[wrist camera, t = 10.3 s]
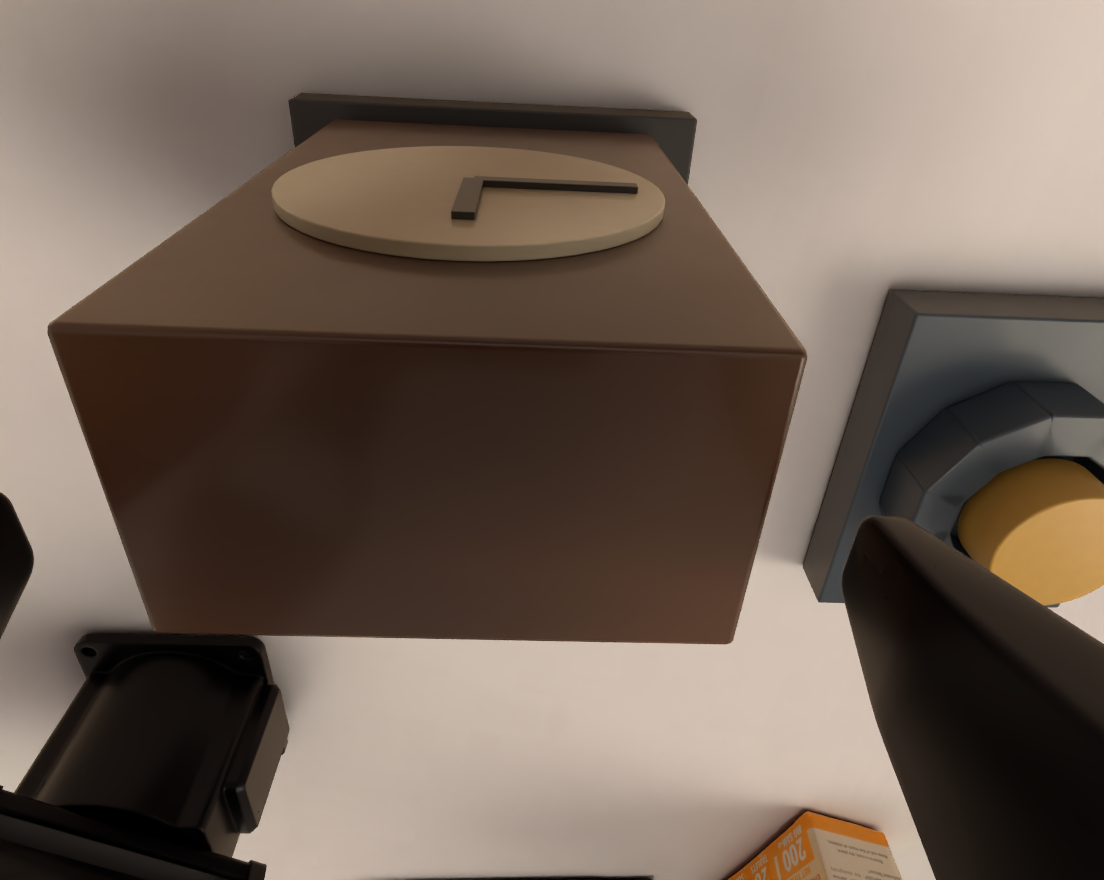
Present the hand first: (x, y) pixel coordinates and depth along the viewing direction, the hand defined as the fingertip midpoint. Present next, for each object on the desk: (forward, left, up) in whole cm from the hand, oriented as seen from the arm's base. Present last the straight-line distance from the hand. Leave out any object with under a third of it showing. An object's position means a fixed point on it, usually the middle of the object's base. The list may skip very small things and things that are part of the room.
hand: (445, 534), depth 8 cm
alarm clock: (0, -2, -6) cm, 6 cm away
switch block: (+14, -7, -12) cm, 20 cm away
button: (+14, -7, -9) cm, 18 cm away
